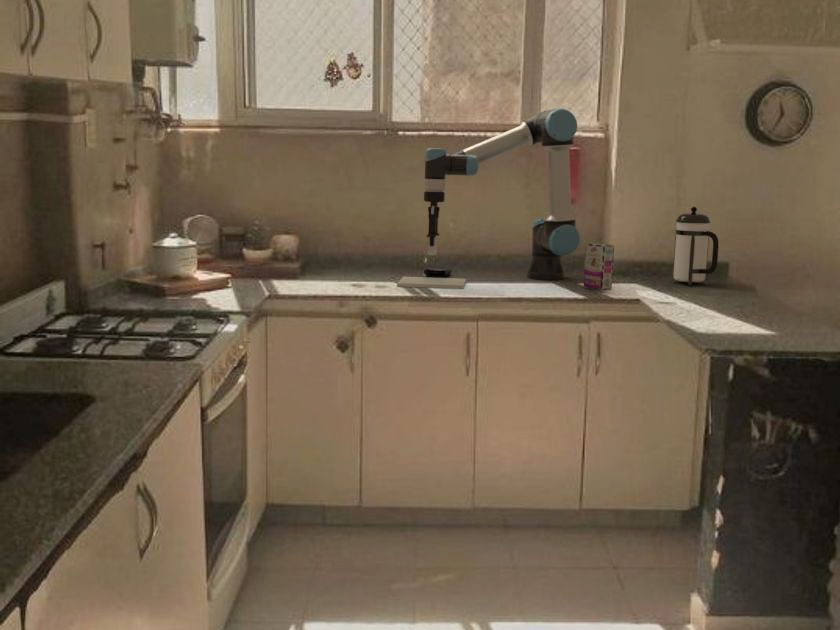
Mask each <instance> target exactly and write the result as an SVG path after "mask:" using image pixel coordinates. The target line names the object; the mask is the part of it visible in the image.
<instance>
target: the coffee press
mask: <svg viewBox="0 0 840 630" xmlns="http://www.w3.org/2000/svg"><path fill="white" fill-rule="evenodd" d="M690 211H691V212H690V213H687V212H686V213H681V214H679V215H678V216H677V217H676V219H675V223H676V228H675V234H674V250H673V251H674V253H673V265H672V271H673V273H672V276H671V278H670V279H669V280H668V281H669V283H671V282H670V281H671V280H672V279H674V280H673V281H672V283H674V282H686V283H687V286H688V287H693V283H703V284H704V285H707V286H708V285H709V283H710V282H709V281H708V279H707V275H708V274H709V275H710V274H713V273H714V272H715V271H716V269H717V266H718V261H719V260H718V257H719V238H718V236H717V235H716V233H714V232H713V231H710V224H711V220H710V217H709V216H708V215H706V214H703V213H697V211H698V208H697V207H696V206H692V207H691V208H690ZM709 238H710V239H711V240H712V243H713V244H712V254H711V256H712V257H711V266H710V267H709V269H707V267H708V255H709V243H710V242H709V241H710V239H709ZM705 280H707V283H705V282H704V281H705Z"/></svg>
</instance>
